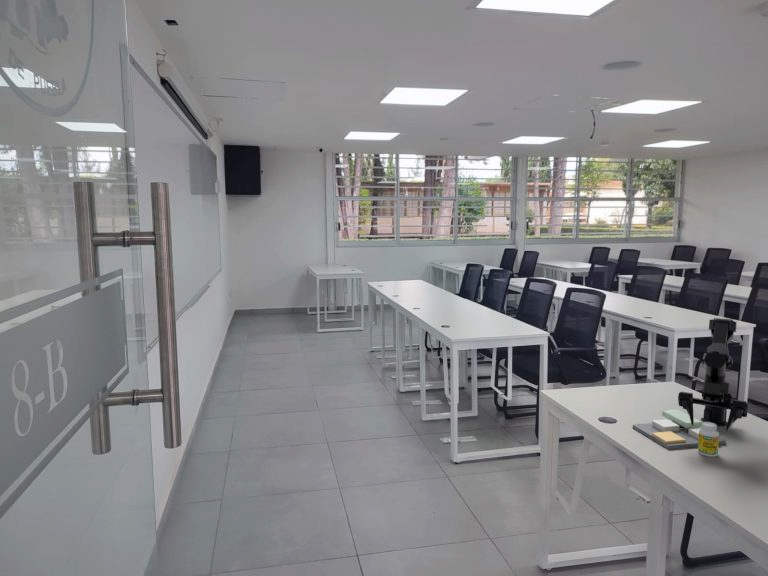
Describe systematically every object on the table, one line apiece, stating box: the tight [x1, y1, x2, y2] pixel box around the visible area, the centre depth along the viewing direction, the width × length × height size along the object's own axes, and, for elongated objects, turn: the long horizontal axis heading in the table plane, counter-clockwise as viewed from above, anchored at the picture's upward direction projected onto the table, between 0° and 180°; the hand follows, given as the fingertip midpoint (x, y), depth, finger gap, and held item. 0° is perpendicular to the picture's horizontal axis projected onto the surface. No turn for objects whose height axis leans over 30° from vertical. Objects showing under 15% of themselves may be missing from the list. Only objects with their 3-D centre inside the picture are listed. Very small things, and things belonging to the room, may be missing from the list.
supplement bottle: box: [697, 421, 720, 458], centre depth 163 cm, size 5×5×10 cm
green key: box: [661, 409, 703, 428], centre depth 183 cm, size 6×12×3 cm, turn 9°
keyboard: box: [632, 418, 727, 450], centre depth 178 cm, size 21×18×3 cm
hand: (709, 427), depth 163 cm, fingers open, 9 cm apart
